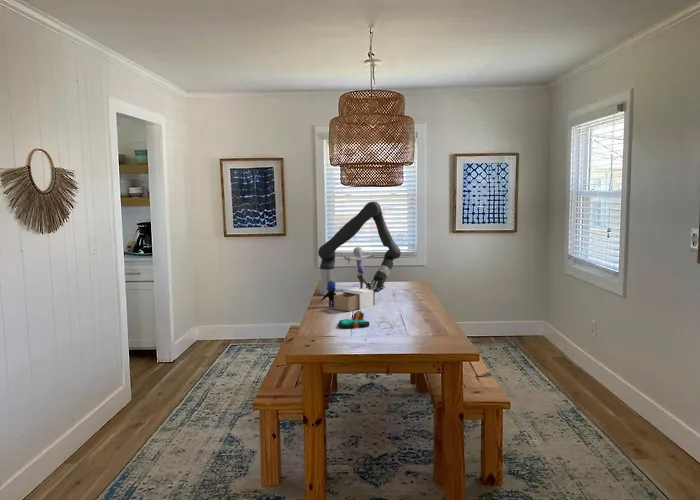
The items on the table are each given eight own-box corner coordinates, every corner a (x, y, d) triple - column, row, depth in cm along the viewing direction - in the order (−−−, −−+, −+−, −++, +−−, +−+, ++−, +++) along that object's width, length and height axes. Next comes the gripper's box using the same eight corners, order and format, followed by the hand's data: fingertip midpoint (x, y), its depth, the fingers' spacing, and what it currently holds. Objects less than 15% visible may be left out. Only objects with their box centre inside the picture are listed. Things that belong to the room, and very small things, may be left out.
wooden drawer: (360, 302, 339) (360, 289, 338) (374, 304, 332) (374, 291, 331) (334, 308, 321) (333, 295, 320) (348, 311, 314) (348, 297, 313)
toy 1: (343, 305, 333) (342, 280, 331) (341, 307, 327) (341, 282, 325) (321, 304, 334) (321, 280, 333) (320, 307, 328) (319, 282, 327)
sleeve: (355, 303, 338) (355, 287, 337) (373, 306, 329) (373, 290, 328) (342, 306, 329) (342, 290, 328) (360, 309, 320) (360, 293, 319)
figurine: (345, 287, 391) (344, 245, 388) (374, 287, 390) (374, 245, 387) (343, 291, 375) (343, 248, 372) (374, 291, 374) (374, 247, 370)
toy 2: (342, 316, 307) (337, 329, 277) (342, 310, 306) (337, 324, 277) (371, 316, 306) (368, 330, 276) (371, 310, 305) (368, 324, 276)
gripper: (371, 269, 347) (358, 291, 339) (387, 271, 338) (375, 294, 330) (376, 276, 351) (364, 298, 343) (393, 278, 342) (381, 301, 335)
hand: (369, 296), depth 337 cm, fingers closed
